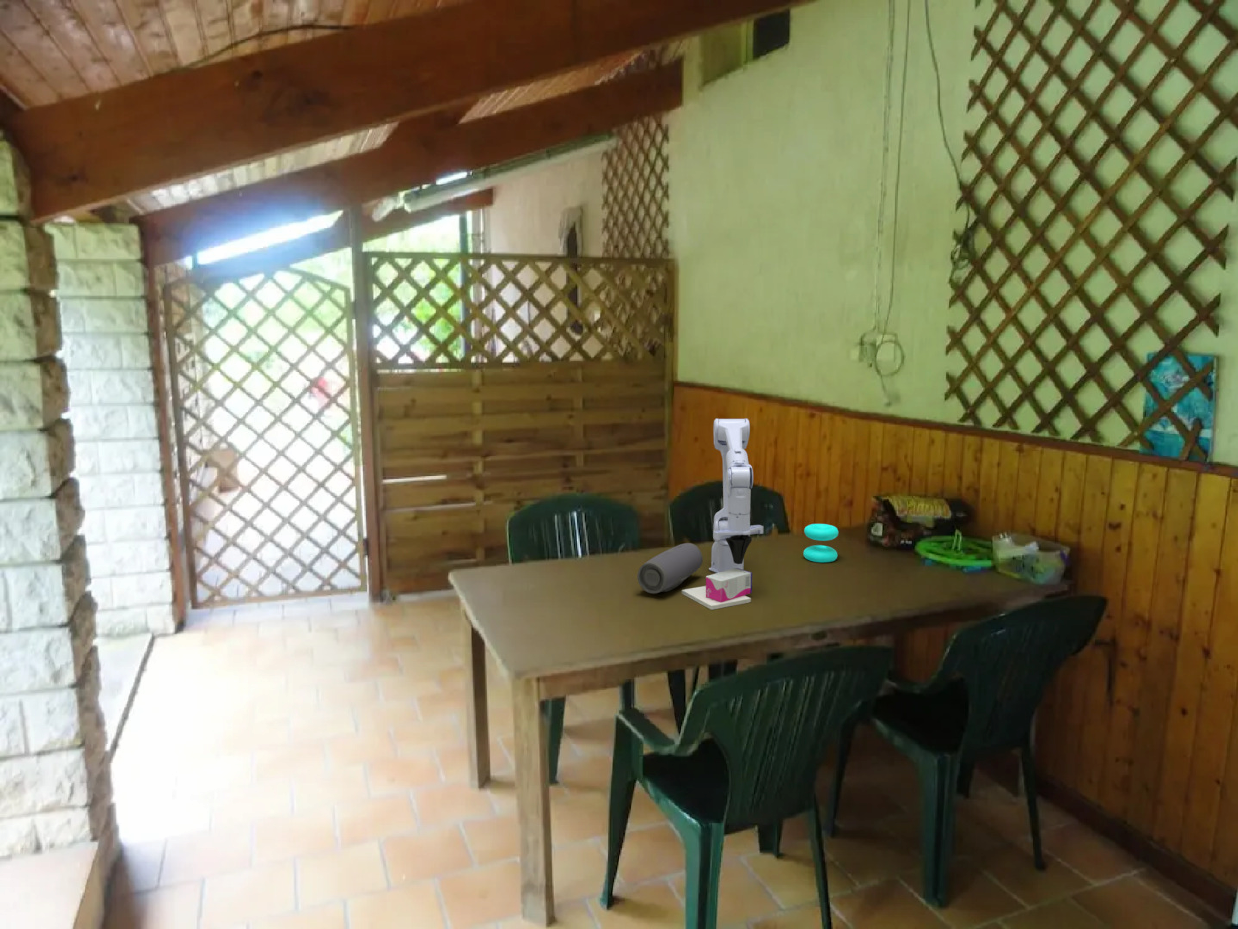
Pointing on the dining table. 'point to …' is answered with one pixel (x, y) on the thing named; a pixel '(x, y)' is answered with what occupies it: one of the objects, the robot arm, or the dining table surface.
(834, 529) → the donuts
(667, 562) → the bluetooth speaker
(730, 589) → the supplement box
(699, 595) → the mat
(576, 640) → the dining table surface
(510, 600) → the dining table surface
